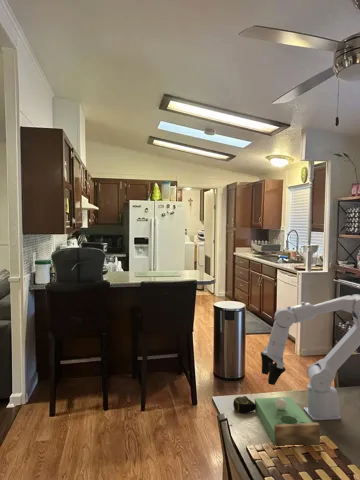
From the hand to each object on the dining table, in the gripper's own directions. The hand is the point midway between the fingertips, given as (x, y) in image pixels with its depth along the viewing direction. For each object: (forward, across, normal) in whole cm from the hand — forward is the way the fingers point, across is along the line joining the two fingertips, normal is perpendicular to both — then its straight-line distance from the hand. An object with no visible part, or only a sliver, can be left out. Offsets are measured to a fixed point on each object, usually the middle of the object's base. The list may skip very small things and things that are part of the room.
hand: (267, 378), depth 118 cm
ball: (+4, +8, +3) cm, 10 cm away
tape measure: (+13, 0, -5) cm, 14 cm away
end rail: (+9, +22, +4) cm, 24 cm away
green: (+9, +11, +4) cm, 15 cm away
